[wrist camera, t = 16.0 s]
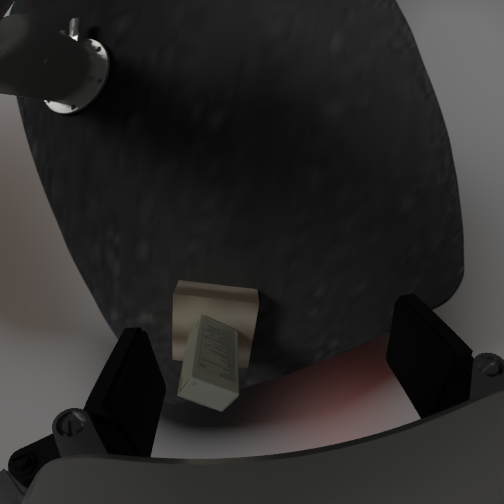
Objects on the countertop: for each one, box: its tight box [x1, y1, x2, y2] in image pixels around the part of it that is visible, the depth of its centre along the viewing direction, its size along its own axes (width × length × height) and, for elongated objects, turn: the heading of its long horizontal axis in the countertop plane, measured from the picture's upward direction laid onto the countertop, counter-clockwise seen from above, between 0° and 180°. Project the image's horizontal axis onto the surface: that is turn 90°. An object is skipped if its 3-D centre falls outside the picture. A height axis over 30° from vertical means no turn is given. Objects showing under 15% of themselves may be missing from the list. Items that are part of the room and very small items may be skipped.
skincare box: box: [178, 315, 239, 411], centre depth 36 cm, size 6×4×12 cm
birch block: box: [173, 280, 259, 368], centre depth 45 cm, size 12×12×5 cm
